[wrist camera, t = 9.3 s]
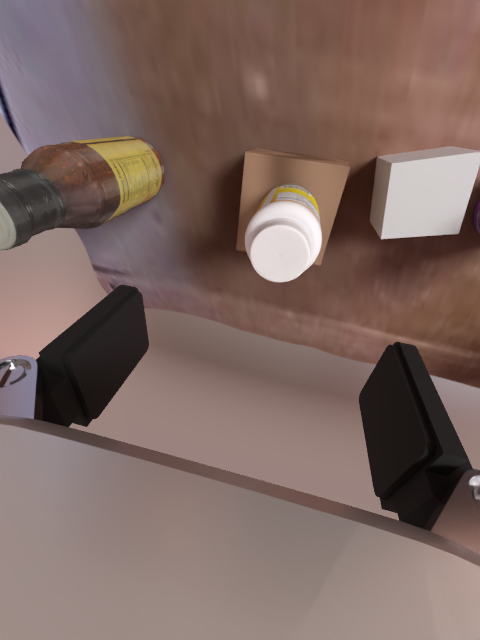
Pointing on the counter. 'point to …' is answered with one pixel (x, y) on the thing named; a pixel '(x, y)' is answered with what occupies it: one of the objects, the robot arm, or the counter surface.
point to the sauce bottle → (77, 186)
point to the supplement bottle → (284, 233)
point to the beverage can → (477, 217)
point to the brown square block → (291, 168)
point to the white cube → (423, 192)
